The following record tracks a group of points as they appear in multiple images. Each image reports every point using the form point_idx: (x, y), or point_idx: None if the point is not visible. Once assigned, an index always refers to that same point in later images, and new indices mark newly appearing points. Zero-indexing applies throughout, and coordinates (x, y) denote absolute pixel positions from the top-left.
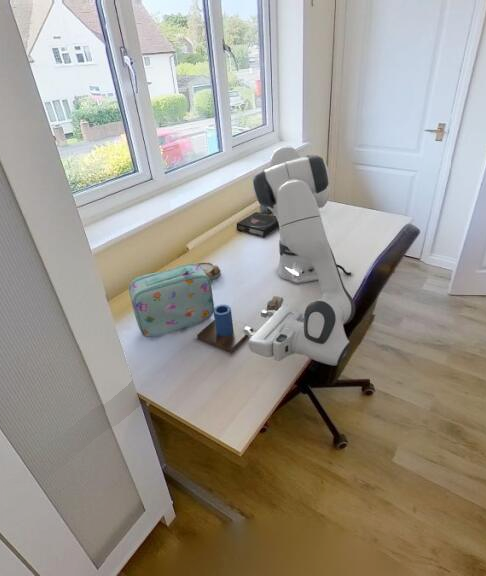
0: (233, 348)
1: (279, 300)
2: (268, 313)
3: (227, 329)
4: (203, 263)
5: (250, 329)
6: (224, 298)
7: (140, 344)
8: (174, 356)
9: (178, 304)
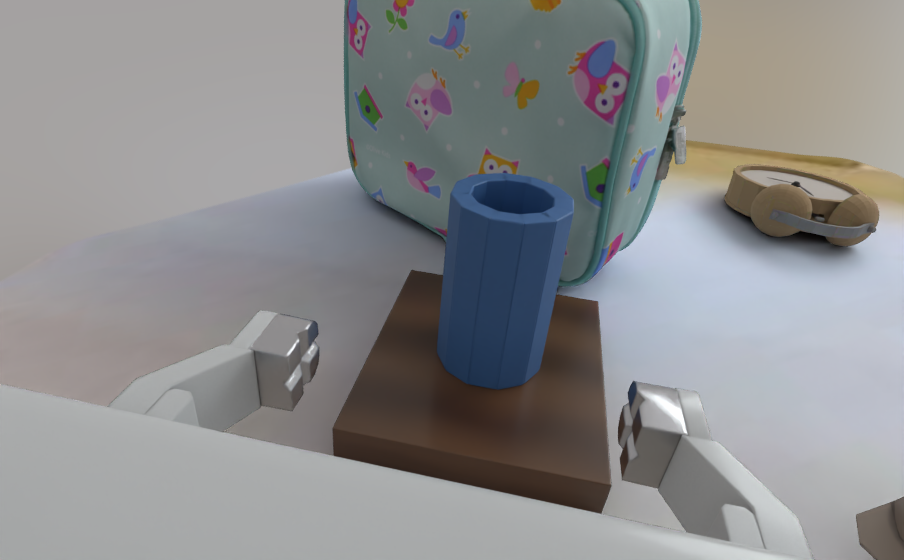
0: (356, 441)
1: None
2: (687, 471)
3: (461, 334)
4: (836, 183)
5: (280, 370)
6: (744, 301)
7: (333, 188)
8: (280, 263)
9: (462, 104)
